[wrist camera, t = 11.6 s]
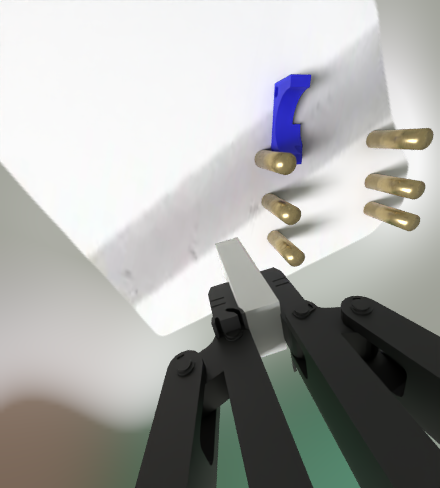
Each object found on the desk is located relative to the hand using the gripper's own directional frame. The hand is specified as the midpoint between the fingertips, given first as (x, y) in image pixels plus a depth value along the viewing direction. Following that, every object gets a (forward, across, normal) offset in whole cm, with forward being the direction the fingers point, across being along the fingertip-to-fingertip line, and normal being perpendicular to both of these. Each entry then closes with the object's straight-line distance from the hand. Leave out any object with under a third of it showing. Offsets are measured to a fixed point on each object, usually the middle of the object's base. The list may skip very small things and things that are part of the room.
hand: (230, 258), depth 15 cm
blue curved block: (+30, +18, +6) cm, 35 cm away
